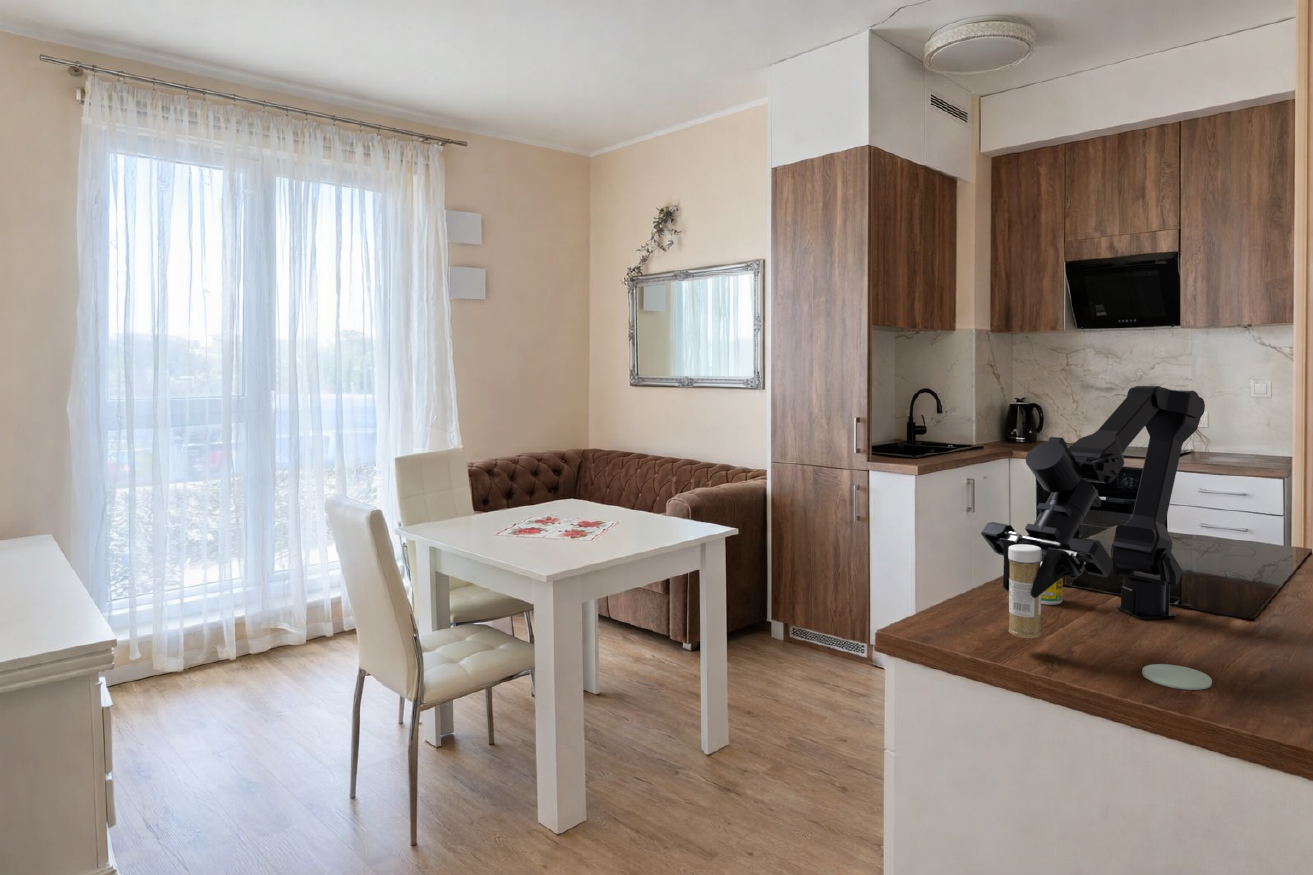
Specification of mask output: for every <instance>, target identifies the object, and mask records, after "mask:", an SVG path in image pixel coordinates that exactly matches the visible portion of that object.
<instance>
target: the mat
mask: <svg viewBox="0 0 1313 875" xmlns="http://www.w3.org/2000/svg"><path fill="white" fill-rule="evenodd" d="M1141 673H1142V676H1143V677H1144V678H1145V679H1147V680H1149V681H1150V682H1152V683H1154V684H1158V685H1160V686H1164V687H1167V688H1168V687H1169V688H1172V689H1178V690H1186V691H1187V690H1188V691H1200V690H1206V689H1209V688H1210V687H1211V686H1213V685H1212V684H1213V683H1212V682H1213V679H1212V677H1211V676H1209V675H1208V674H1206V673H1205V672H1203V671H1200V670H1197V669H1194V668H1190V667H1187V666H1181V665H1175V664H1168V663H1157V664H1156V663H1155V664H1148V665H1145V666H1143V668H1142V672H1141Z"/></svg>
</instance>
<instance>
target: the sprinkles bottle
mask: <svg viewBox="0 0 1313 875" xmlns="http://www.w3.org/2000/svg"><path fill="white" fill-rule="evenodd" d="M1008 558H1009V562H1010V578H1009V591H1008V611H1009V627H1008V633H1010V634H1011V635H1013V636H1015V637H1018V638H1023V639H1035V638H1039V637H1041V635H1042V630H1041V614H1042V604H1041V594H1040V595H1039V596H1038V597H1037V598H1033V597H1032V596H1031V590H1032V586H1033V583H1034V581H1035V579H1036V576H1037V574H1038V571H1039V569H1040V563H1041V560H1042V549H1041V548H1040V547H1038V546H1034V545H1026V544H1017V545H1011V546H1010V547H1009V550H1008Z"/></svg>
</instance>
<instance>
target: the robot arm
mask: <svg viewBox="0 0 1313 875" xmlns="http://www.w3.org/2000/svg"><path fill="white" fill-rule="evenodd" d="M1205 408H1206V404H1205V400H1204V398H1202V397H1201V396H1199V393H1198V392H1197V391H1195V390H1180V389H1179V390H1177V389H1176V390H1175V389H1169V388H1168V387H1167V388H1166V387H1162V386H1160V385H1135V386H1134V387H1130V388H1129V389H1128V391H1127V395H1126V397H1125V398H1124V400H1123V401H1122V402H1121V403H1120V404H1119V405H1118V406H1117V408H1116V409H1115V410H1114V411H1113V412H1112V413H1111V415H1110V416H1108V418H1107V419H1106V420H1105V421H1104V422H1103V424H1102V425H1101V426H1100V427H1099V428H1098V430H1097V431H1095V432H1092V433H1091V434H1087V435H1085V436H1083V437H1079V439H1077V440H1076V441H1075V442H1073V443H1072V444H1071V445H1069V447H1068V445H1067V442H1066V440H1065V438H1063V437H1058V436H1050V437H1049V438H1048V440H1047V441H1046V442H1042V443H1040V444H1038V445H1036V446H1035V447H1033V448H1032V449H1031V450H1029V451H1028V452H1027V454H1026V456H1025V464H1026V466H1027V467H1028V468H1029V469H1030V471H1031V472H1032V474H1033V475H1034V477H1035V478H1036V480H1037V482H1038V484H1040V485H1041V487H1042V489H1043V490H1045V491H1046V492H1049V493H1050V495H1049V497H1048V498H1047V501H1046V502H1045V503H1043V502H1039V503H1038V505H1037V506H1036V509H1037V510H1038V516H1037V518H1036V520H1035V521H1034V523H1033V524H1031V523H1027V524H1026V526H1025V527H1024V529H1025V531H1026V532H1027V535H1026V536H1025V535H1022V534H1021V533H1019V532H1016V530H1015V529H1014V527H1013V526H1012V525H1011V524H1006V523H999V522H995V521H992V522H987V523H986V524H985V526H984V527H983V529H982V531H981V532H980V535H981V536H982V537H983V539H984V540H985V541H986V542H987V543H988V545H989V546H990V548H991V549H992V551H993V552H994V553H996V554H997V555H1000V556H1003V576H1002V577H1003V578H1002V588H1003V590H1005V591H1006V592H1009V578H1010V562H1009V558H1008V550H1009V547H1010V546H1011V545H1017V544H1026V545H1034V546H1038V547H1040V548H1041V549H1042V560H1041V562H1042V564H1041V567H1040V569H1039V571H1038V574H1037V576H1036V579H1035V581H1034V583H1033V586H1032V590H1031V596H1032V597H1033V598H1037V597H1038V596H1039V595H1040V594H1042V593H1043V592H1044V591H1045V590H1047V589H1048V588H1049V587H1050V586H1052V585H1053V584H1054V583H1055V582H1057V581H1058V580H1060V579H1061V578H1063V579H1064V577H1067V578H1070V579H1072V580H1076V579H1077V578H1078V577H1079V576H1081V575H1083V572H1084V571H1086V572H1087V573H1088V575H1093V576H1098V577H1101V578H1107V577H1109V576H1110V573H1111V571H1112V570H1113V571H1114V576H1118V577H1123V584H1122V586H1121V588H1120V605H1117V606H1116V609H1117V610H1118V611H1121V612H1124V613H1125V614H1128V615H1129V616H1131V617H1132V616H1133V617H1134V618H1137V619H1139V620H1154V619H1155V620H1157V619H1174V618H1175V619H1176V618H1177V614H1176V613H1173V612H1171V611H1170V599H1171V598H1170V592H1171V590H1170V589H1171V586H1172V585H1174V586H1177V585H1178V583H1179V582H1180V580H1181V578H1182V571H1183V569H1182V568H1181V566H1180V564H1179V562H1178V561H1177V560H1176V558H1175V556H1174V554H1173V553H1172V548H1173V541H1172V538H1171V536H1170V534H1169V531H1168V529H1167V527H1166V522H1167V516H1168V514H1169V507H1170V502H1171V497H1172V493H1173V489H1174V484H1175V480H1176V475H1177V470H1178V466H1179V463H1180V457H1181V453H1182V448H1183V444H1184V443H1185V442H1186V441H1187V440H1188V439H1189V438H1190V437H1191V436H1192V435H1193V434H1194V433H1195V432H1196V431H1197V430H1198V428H1199V424H1200V422H1201V418H1202V417H1203V415H1204V413H1205ZM1144 428H1146V431H1147V433H1148V435H1149V440H1148V444H1147V447H1146V448H1147V449H1146V453H1145V457H1144V463H1143V467H1142V471H1141V476H1140V481H1139V483H1138V484H1139V485H1138V490H1137V494H1136V498H1135V503H1134V508H1133V512H1132V516H1131V518H1130V519H1128V520H1127V521H1126V522H1125V523H1124V524H1123V523H1118V525H1116V527H1115V534H1114V539H1113V541H1112V543H1111V547H1110V548H1111V549H1110V554H1109V553H1108V552H1107V549H1105V547H1104V545H1103V544H1102V542H1100V540H1099V539H1098V540H1097V539H1091V538H1085V537H1082V536H1083V535H1084V530H1085V529H1084V527H1083V526H1082V525H1081V524H1082V523H1083V521H1084V519H1085V517H1086V515H1087V514H1088V512H1089V510H1090V508H1091V506H1092V507H1101V506H1102V500H1101V497H1100V496H1099V490H1098V489H1097V488H1095V486H1094V485H1093V484H1092V482H1093V483H1103V484H1110V483H1112V482H1113V481H1115V479H1116V478H1117V477H1118V475H1119V474H1120V471H1121V470H1122V468H1123V466H1124V465H1125V459H1124V458H1125V457H1124V453H1125V451H1126V449H1127V448H1128V447H1129V445H1130V444H1131V443H1132V442H1133V441H1134V439H1136V437H1137V436H1138V435H1139V433H1140V432H1141V431H1142V430H1143V429H1144Z"/></svg>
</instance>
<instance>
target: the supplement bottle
mask: <svg viewBox="0 0 1313 875" xmlns="http://www.w3.org/2000/svg"><path fill="white" fill-rule="evenodd" d="M1041 564H1042V562H1041V563H1040V567H1041ZM1063 583H1064V577H1063V578H1061V579H1060V580H1058V581H1057V582H1055V583H1054V584H1053V585H1052V586H1050V587H1049V588H1048V589H1047V590H1045V591H1044V592H1043V593H1042V594H1041V605H1047V606H1048V605H1051V606H1053V605H1054V606H1055V605H1059V604H1062V602H1063V595H1064V594H1063V593H1064V592H1063V590H1064V588H1063Z"/></svg>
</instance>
